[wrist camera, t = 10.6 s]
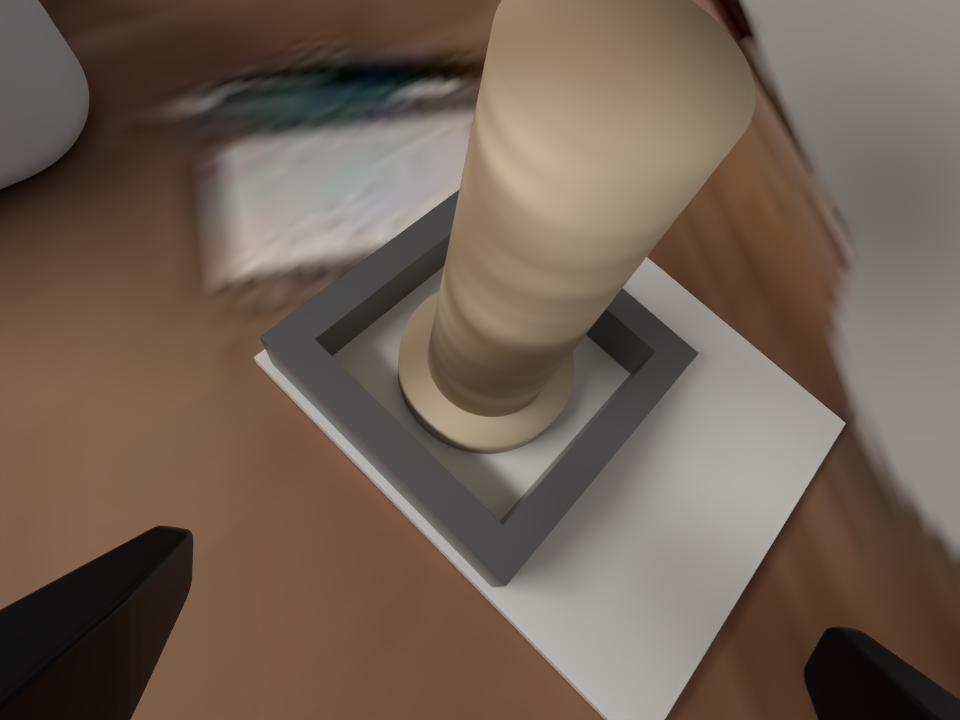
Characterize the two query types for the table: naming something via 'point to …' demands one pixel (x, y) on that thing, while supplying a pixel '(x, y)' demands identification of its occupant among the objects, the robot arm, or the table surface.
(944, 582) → the table surface
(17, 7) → the plastic bottle
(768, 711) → the table surface
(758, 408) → the collar board
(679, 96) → the peg
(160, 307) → the table surface
